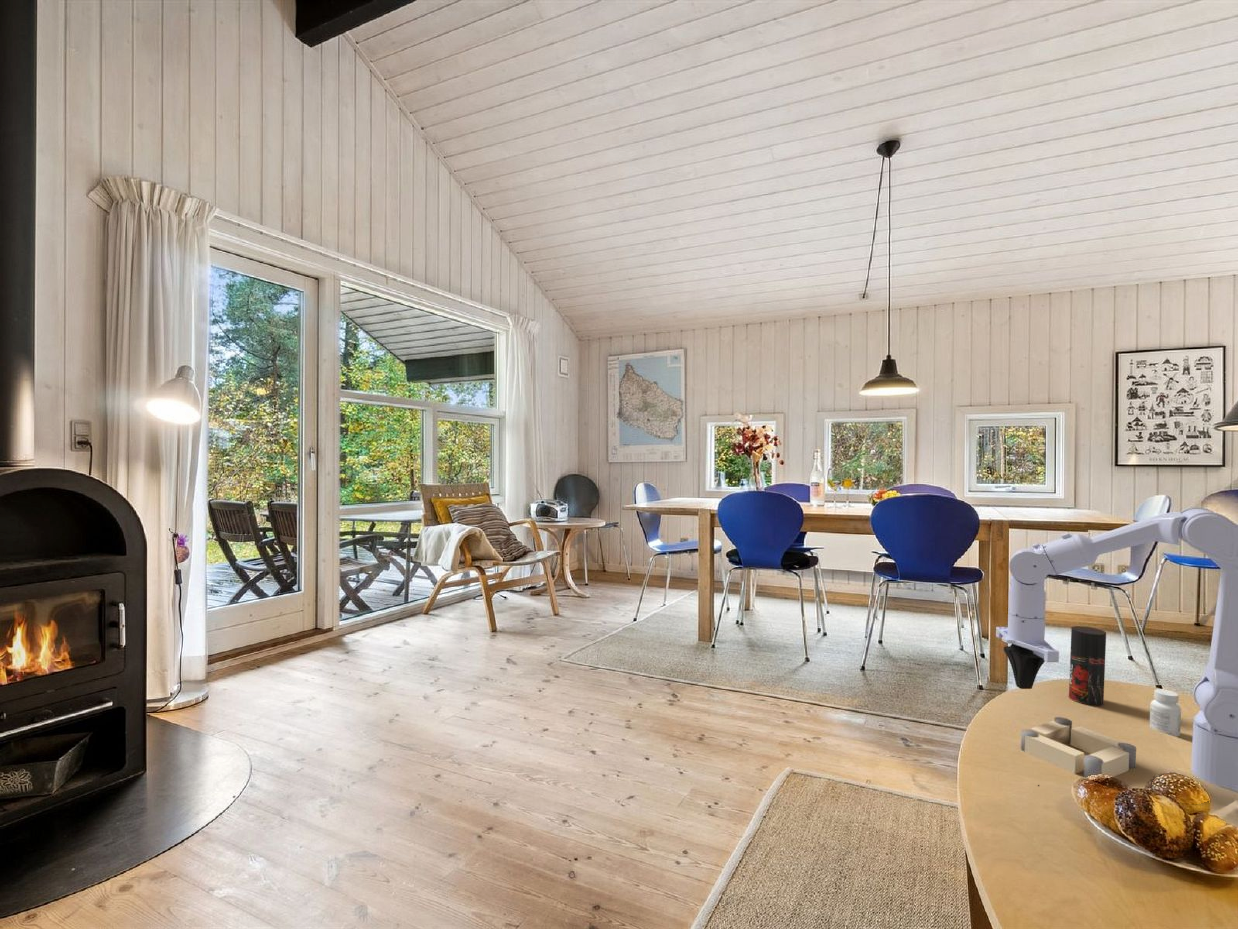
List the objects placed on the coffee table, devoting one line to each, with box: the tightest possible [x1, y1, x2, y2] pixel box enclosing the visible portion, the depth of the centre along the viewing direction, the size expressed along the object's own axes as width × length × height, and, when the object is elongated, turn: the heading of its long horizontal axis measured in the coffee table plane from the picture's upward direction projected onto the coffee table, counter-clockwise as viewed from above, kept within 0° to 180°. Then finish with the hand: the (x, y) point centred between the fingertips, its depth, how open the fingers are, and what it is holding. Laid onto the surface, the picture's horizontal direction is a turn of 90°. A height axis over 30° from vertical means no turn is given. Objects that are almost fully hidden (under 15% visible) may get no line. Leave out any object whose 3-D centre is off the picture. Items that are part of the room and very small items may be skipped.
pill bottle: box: [1149, 688, 1182, 738], centre depth 119 cm, size 4×4×8 cm
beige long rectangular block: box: [1029, 716, 1073, 745], centre depth 113 cm, size 9×3×3 cm, turn 118°
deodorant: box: [1068, 625, 1107, 707], centre depth 134 cm, size 6×6×15 cm
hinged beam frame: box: [1020, 725, 1137, 778], centre depth 108 cm, size 13×13×4 cm
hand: (1024, 687), depth 117 cm, fingers closed
